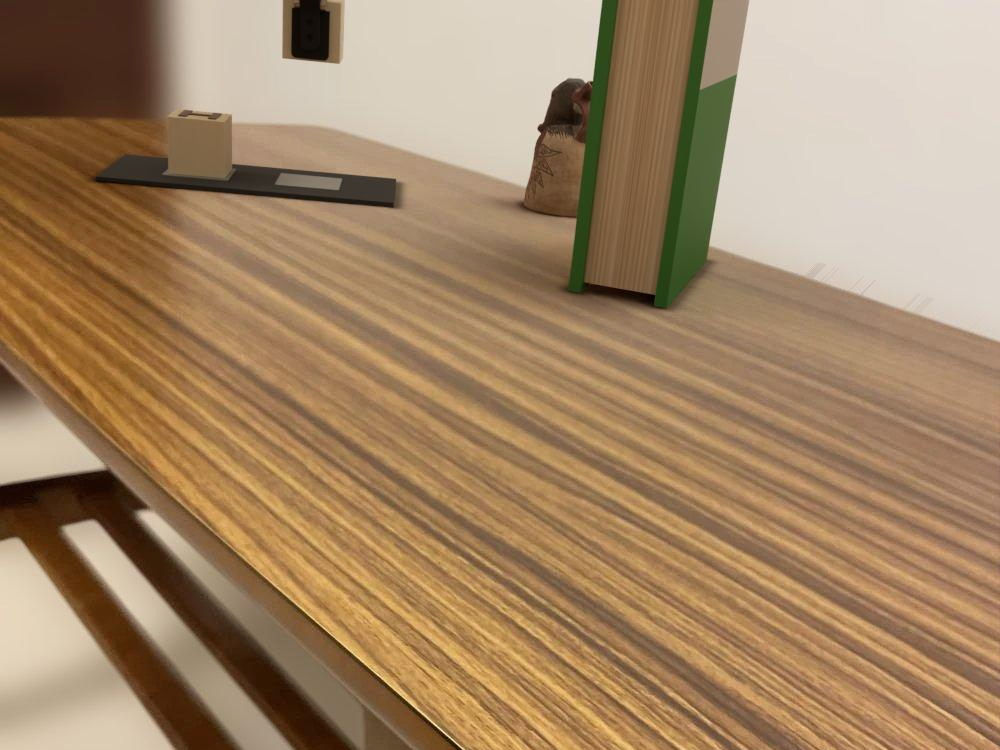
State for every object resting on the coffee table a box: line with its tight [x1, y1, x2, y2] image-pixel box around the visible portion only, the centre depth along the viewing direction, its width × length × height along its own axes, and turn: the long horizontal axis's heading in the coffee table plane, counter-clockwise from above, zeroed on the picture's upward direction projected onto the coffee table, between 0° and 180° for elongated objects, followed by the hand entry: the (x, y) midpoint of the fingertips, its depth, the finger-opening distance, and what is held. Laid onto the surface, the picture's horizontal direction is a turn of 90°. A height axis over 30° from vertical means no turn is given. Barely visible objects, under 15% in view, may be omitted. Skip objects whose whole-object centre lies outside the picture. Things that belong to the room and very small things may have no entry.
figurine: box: [523, 77, 593, 218], centre depth 116 cm, size 7×7×12 cm
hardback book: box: [567, 0, 750, 309], centre depth 93 cm, size 18×7×24 cm, turn 163°
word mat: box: [95, 153, 397, 208], centre depth 115 cm, size 26×12×1 cm, turn 95°
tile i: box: [281, 0, 346, 65], centre depth 110 cm, size 5×5×5 cm
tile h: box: [166, 108, 233, 179], centre depth 113 cm, size 5×5×5 cm
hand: (312, 53), depth 111 cm, fingers closed on tile i, 5 cm apart
